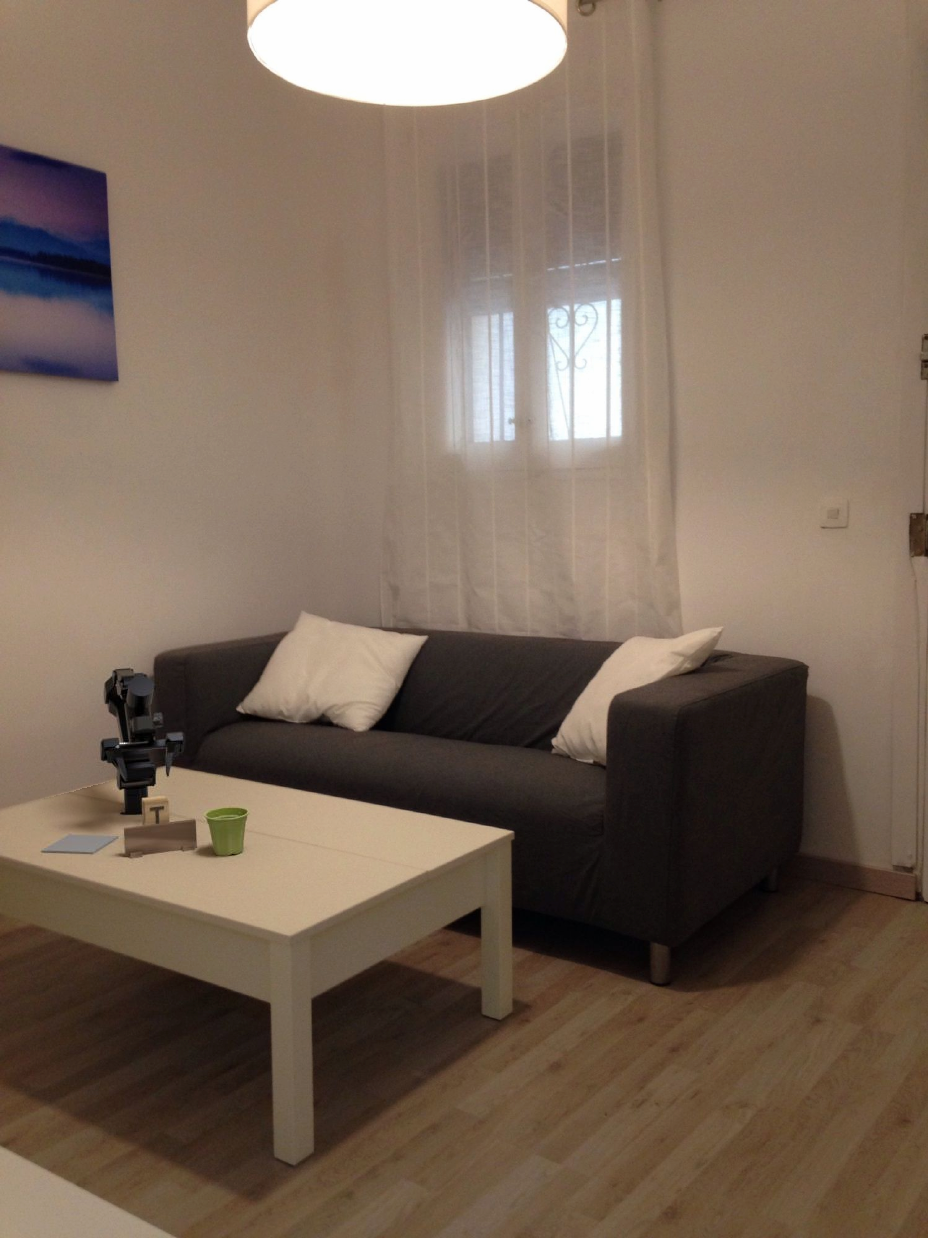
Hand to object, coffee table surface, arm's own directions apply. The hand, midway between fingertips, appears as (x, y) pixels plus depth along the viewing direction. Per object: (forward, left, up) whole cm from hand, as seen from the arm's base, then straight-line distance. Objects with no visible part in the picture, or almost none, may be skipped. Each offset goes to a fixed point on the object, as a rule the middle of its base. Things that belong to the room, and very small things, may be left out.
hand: (147, 778), depth 254 cm
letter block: (+7, +3, -13) cm, 15 cm away
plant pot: (+15, +20, -13) cm, 29 cm away
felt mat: (+7, -14, -13) cm, 20 cm away
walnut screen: (+14, +6, -13) cm, 20 cm away
